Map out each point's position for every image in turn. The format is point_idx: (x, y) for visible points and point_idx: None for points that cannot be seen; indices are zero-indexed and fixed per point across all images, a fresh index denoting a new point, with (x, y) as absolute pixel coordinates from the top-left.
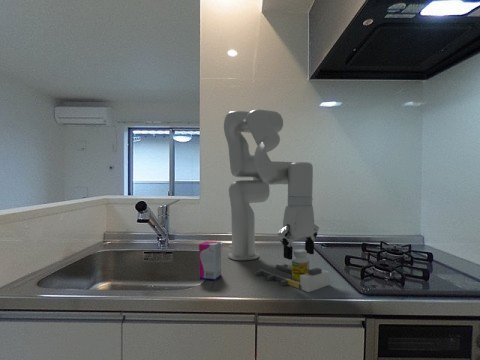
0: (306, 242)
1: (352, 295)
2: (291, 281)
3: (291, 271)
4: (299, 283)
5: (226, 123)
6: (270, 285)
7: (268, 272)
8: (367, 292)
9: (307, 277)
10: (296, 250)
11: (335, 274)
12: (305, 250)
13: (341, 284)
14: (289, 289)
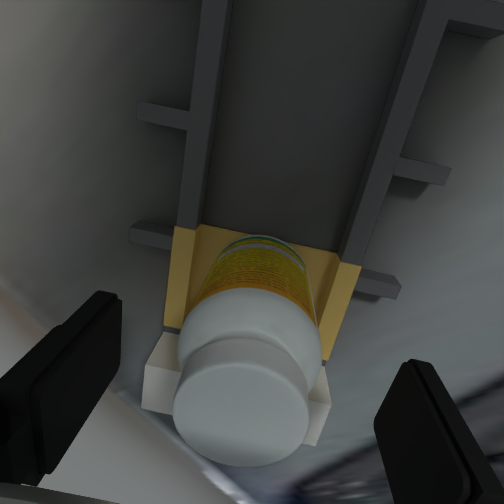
0: (445, 482)
1: (255, 474)
2: (168, 278)
3: (374, 151)
4: (174, 322)
5: None
6: (97, 178)
7: (210, 44)
8: (319, 499)
9: (146, 402)
10: (225, 389)
11: (495, 359)
12: (282, 452)
13: (349, 420)
14: (130, 284)
